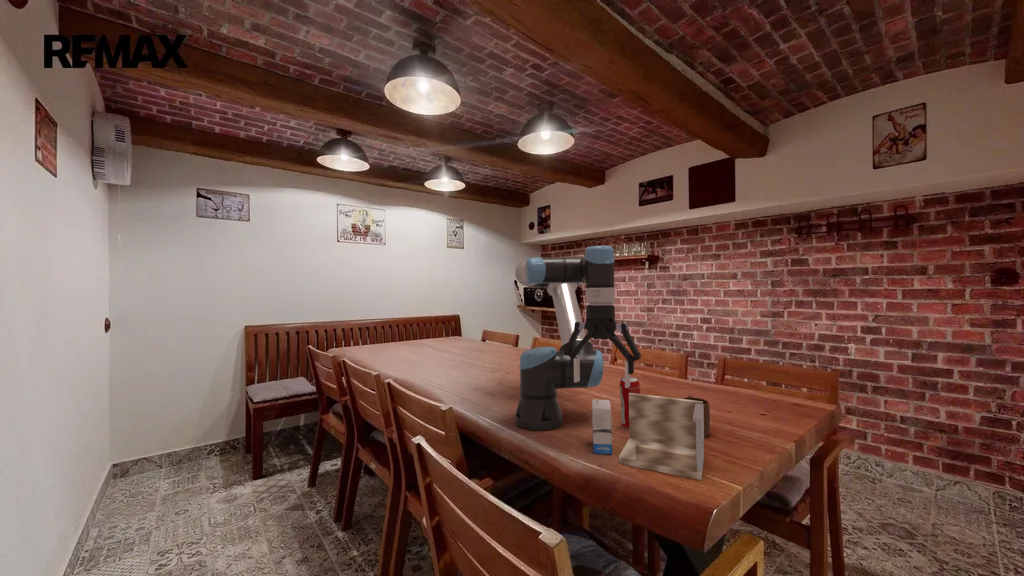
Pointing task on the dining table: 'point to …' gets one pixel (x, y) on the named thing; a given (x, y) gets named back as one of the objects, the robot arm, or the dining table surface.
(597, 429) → the ink box
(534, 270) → the robot arm
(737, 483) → the dining table surface
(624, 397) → the beverage can
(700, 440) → the bookend
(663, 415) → the shelf
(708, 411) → the mug
